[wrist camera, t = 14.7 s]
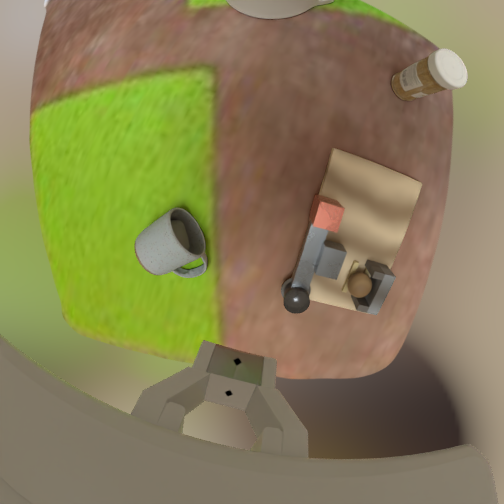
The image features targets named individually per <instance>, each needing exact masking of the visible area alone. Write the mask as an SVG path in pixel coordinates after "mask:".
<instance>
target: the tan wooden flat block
mask: <svg viewBox="0 0 504 504" xmlns="http://www.w3.org/2000/svg"><path fill="white" fill-rule="evenodd" d="M421 187H422V183H420V182H418V181H416V180H414V179H412V178H410V177H407V176H405V175H403V174H401V173H398V172H396V171H394V170H391V169H389V168H386V167H384V166H382V165H379V164H377V163H374V162H372V161H369V160H366V159H364V158H361V157H358V156H356V155H353V154H350V153H347V152H344V151H341V150H339V149H336V148H332V150H331V154H330V158H329V161H328V165H327V168H326V172H325V175H324V178H323V182H322V185H321V188H320V192H319V195H321V196H325V197H328V198H332V199H335V200H337V201H338V202H339V203H340V204H341V205H342V206H343V207H344V208H345V210H344V213H343V217H342V220H341V223H340V226H339V229H338V232H337V233H336V232H333V231H329V230H328V233H327V236H326V239H325V240H329V241H333V242H336V243H340V244H343V246H344V248H345V250H346V251H347V254H346V257H345V259H344V262H343V265H342V267H341V270H340V273H339V275H338V278H337V280H335V279H331V278H327V277H323V276H318V275H315V272H314V275H313V278H312V280H311V283H310V286H309V289H308V293H309V300H313V301H317V302H321V303H326V304H330V305H334V306H338V307H342V308H347V309H351V310H355V311H360V312H364V313H370V314H374V315H377V314H378V312H379V310H380V308H381V306H382V304H383V302H384V300H385V298H386V296H387V294H388V292H389V290H390V288H391V286H392V284H393V282H394V280H395V278H396V277H395V276H394V274H393V273H392V272H391V270H390V269H391V266H392V264H393V262H394V260H395V257H396V255H397V252H398V250H399V248H400V245H401V243H402V240H403V238H404V235H405V233H406V230H407V227H408V225H409V222H410V219H411V217H412V214H413V211H414V208H415V205H416V202H417V199H418V196H419V193H420V190H421ZM297 261H298V260H297ZM296 264H297V263H296ZM295 267H296V266H295ZM294 271H295V269H294ZM357 272H363V273H365V274H367V275H368V276H369V277H370V279H371V281H372V288H371V291H370V292H369V294H368V295H366V296H365V297H361V298H357V297H354V296H353V295H351V294H350V292H349V290H348V286H347V284H348V280H349V278H350V277H351V276H352V275H353V274H355V273H357ZM293 274H294V272H293ZM292 277H293V275H292ZM291 280H292V278H290V279H288V280H286V281H285V282H284V283H283V285H282V288H281V293H282V296H283V298H284V288H285V286H286V285H287V284H288V283H290V282H291Z"/></svg>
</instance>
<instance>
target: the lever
mask: <svg viewBox="0 0 504 504" xmlns="http://www.w3.org/2000/svg"><path fill="white" fill-rule="evenodd" d="M344 210H345V208H344V207H343V206H342V205H341V204H340V203H339V202H338V201H337V200H335V199H332V198H328V197H325V196H321V195H318V194H315V196H314V200H313V204H312V207H311V211H310V214H309V216H310V222H309V225H308V228H307V232H306V235H305V238H304V242H303V245H302V248H301V252H300V255H299V258H298V261H297V264H296V267H295V271H294V274H293V277H292V280H291V282H290V283H288V284H287V285H286V286H285V288H284V306H285V308H286V309H287V310H288V311H289V312H291V313H301V312H304V311H305V310H306V309H307V308H308V307H309V304H310V300H309V293H308V289H309V286H310V283H311V280H312V278H313V275H314V272H315V275H318V276H323V277H327V278H331V279H335V280H337V278H338V275H339V273H340V270H341V267H342V265H343V262H344V259H345V257H346V254H347V251H346V250H345V248H344V246H343V244H340V243H336V242H333V241H329V240H325V239H326V236H327V233H328V230H329V231H333V232H336V233H337V232H338V229H339V226H340V223H341V220H342V217H343V213H344Z"/></svg>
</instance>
